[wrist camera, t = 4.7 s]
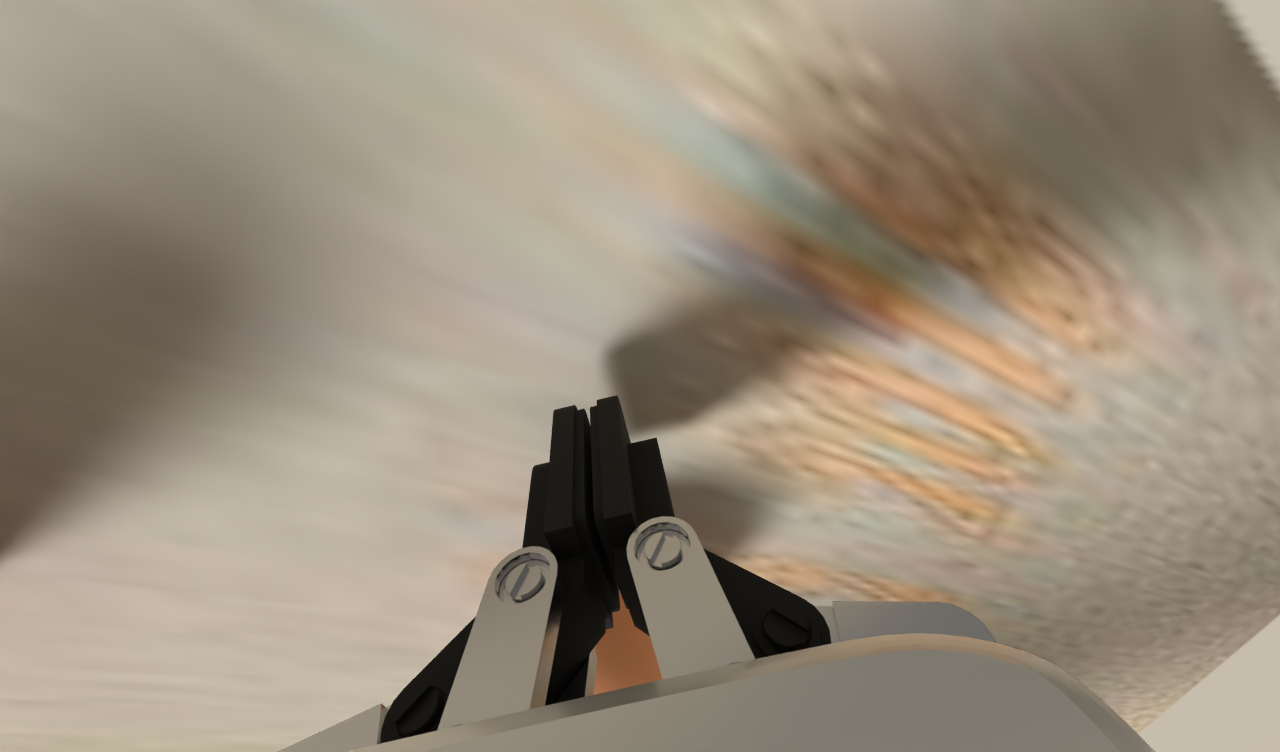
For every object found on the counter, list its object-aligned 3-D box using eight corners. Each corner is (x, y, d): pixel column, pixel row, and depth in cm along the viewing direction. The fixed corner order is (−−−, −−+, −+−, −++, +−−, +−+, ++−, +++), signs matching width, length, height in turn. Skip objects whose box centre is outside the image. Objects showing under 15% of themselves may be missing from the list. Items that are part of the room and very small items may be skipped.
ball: (651, 701, 10) (632, 498, 15) (434, 760, 11) (478, 551, 16) (723, 765, 13) (688, 582, 18) (549, 808, 14) (558, 623, 19)
